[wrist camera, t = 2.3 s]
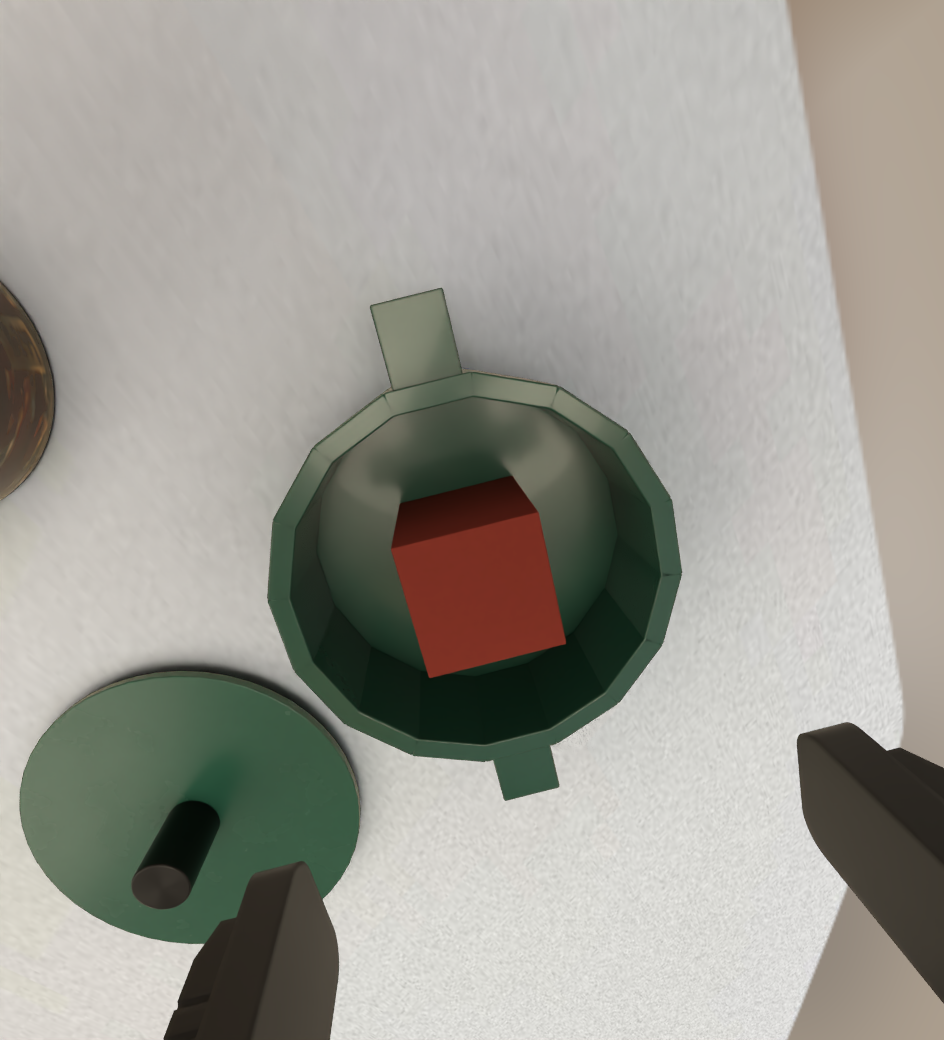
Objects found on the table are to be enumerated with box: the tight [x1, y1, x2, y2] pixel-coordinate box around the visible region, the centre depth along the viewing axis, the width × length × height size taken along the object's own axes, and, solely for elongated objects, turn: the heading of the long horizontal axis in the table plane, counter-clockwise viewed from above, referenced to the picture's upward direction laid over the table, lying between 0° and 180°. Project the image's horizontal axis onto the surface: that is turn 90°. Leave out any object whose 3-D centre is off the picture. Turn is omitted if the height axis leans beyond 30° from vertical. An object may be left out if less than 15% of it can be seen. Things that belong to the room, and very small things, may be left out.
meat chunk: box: [391, 476, 566, 678], centre depth 22 cm, size 5×5×6 cm
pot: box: [267, 288, 682, 801], centre depth 23 cm, size 15×20×6 cm
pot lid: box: [20, 671, 361, 944], centre depth 26 cm, size 16×16×5 cm
